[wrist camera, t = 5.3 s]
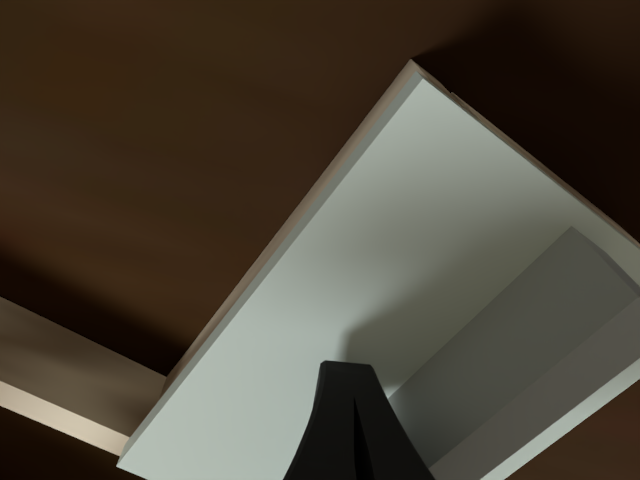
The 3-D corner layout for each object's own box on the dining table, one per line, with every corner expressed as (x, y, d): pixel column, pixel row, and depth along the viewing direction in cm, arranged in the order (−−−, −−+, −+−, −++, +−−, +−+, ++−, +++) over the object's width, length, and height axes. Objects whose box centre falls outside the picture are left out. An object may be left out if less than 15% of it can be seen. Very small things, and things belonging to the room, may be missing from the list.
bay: (616, 222, 16) (673, 274, 14) (333, 477, 22) (336, 547, 20) (-40, -301, 11) (-159, -386, 8) (-190, 231, 16) (-287, 283, 14)
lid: (702, 297, 14) (817, 400, 11) (373, 551, 19) (384, 669, 16) (416, 70, 11) (456, 117, 8) (124, 444, 16) (78, 561, 13)
